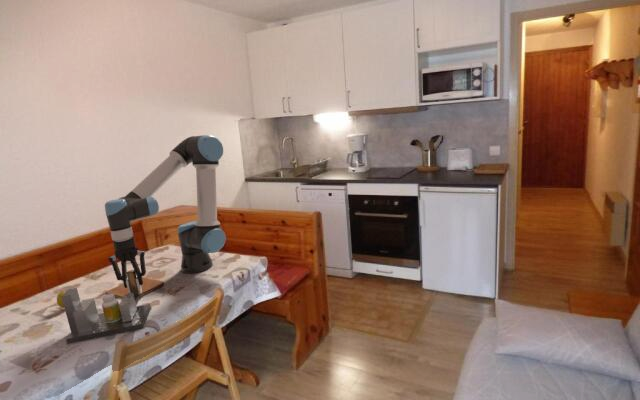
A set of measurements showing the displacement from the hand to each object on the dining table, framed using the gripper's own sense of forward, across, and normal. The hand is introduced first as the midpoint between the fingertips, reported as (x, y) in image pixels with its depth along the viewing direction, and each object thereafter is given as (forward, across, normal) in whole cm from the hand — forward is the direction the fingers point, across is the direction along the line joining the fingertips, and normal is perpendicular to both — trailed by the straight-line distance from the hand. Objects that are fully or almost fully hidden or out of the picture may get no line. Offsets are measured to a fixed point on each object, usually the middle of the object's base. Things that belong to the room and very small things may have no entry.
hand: (135, 293), depth 159 cm
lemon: (+6, +31, -12) cm, 34 cm away
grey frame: (+6, +7, +13) cm, 16 cm away
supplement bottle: (+4, +6, +13) cm, 15 cm away
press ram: (+3, 0, +8) cm, 9 cm away
